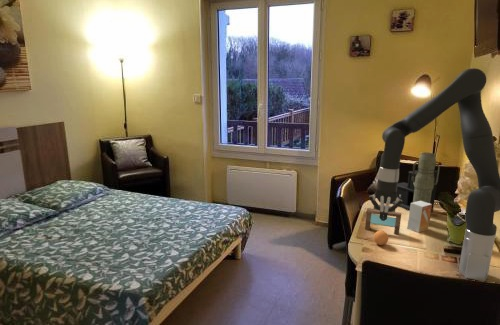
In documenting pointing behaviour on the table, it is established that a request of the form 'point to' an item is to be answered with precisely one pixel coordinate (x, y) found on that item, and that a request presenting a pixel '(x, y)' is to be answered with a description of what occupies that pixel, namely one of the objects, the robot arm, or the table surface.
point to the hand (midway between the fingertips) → (382, 220)
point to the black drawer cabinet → (411, 192)
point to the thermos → (425, 177)
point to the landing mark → (388, 222)
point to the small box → (419, 216)
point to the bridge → (395, 214)
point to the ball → (380, 237)
